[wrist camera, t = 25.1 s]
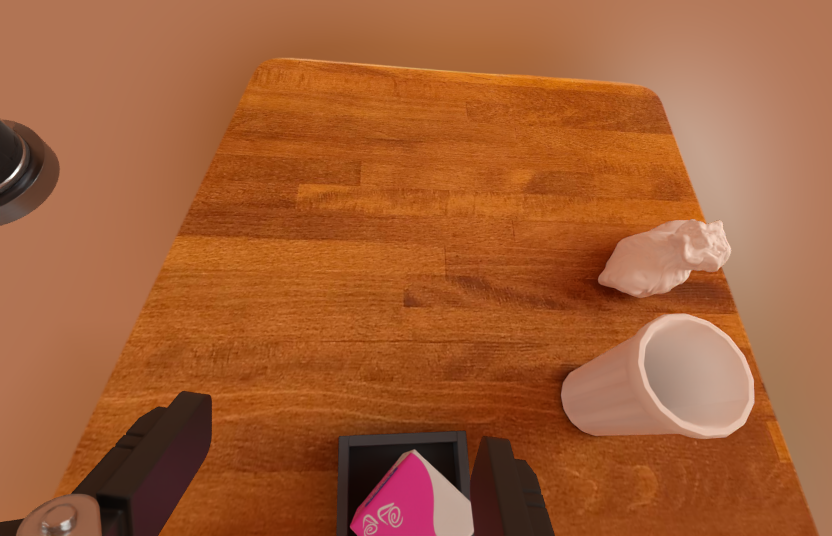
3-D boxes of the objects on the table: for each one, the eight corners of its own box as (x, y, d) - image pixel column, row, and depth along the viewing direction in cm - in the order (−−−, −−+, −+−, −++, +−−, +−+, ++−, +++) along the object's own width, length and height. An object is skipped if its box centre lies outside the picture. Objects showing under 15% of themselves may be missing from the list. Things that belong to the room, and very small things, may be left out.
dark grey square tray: (337, 584, 33) (335, 593, 31) (340, 437, 38) (338, 436, 35) (471, 573, 35) (478, 581, 32) (459, 432, 39) (465, 430, 36)
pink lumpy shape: (591, 310, 47) (697, 340, 37) (570, 250, 45) (679, 266, 35) (658, 254, 51) (771, 267, 41) (643, 195, 49) (760, 195, 39)
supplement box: (401, 450, 37) (416, 445, 27) (454, 502, 36) (491, 519, 25) (352, 508, 35) (347, 527, 25) (406, 566, 34) (425, 612, 23)
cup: (567, 342, 43) (654, 290, 30) (643, 384, 42) (766, 349, 29) (536, 417, 40) (619, 395, 27) (618, 465, 39) (744, 465, 26)
